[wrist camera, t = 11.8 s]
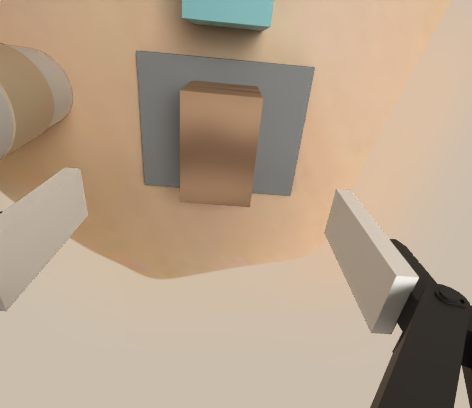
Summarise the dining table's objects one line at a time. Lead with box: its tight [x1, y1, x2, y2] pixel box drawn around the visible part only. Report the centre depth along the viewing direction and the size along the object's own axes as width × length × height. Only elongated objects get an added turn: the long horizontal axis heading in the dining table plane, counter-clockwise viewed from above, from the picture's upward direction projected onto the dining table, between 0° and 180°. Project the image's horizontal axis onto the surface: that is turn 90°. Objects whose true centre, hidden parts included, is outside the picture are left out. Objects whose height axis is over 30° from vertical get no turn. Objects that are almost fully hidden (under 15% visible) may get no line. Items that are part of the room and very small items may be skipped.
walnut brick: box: [180, 80, 263, 207], centre depth 27 cm, size 9×6×7 cm, turn 175°
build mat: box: [136, 51, 315, 196], centre depth 30 cm, size 13×16×1 cm
